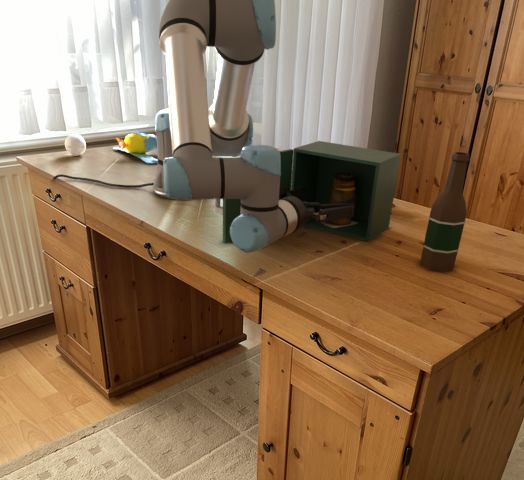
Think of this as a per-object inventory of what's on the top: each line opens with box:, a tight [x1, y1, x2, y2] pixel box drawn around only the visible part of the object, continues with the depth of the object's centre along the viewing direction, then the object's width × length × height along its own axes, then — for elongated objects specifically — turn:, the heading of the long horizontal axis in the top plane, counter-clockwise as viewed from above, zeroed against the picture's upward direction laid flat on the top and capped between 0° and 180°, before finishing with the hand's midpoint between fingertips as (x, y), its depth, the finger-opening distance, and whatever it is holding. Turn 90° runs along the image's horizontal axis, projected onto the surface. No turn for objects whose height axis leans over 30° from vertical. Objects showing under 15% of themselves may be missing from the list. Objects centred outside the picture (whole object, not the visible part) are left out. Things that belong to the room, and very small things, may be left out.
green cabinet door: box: [213, 148, 294, 244], centre depth 131 cm, size 6×23×18 cm, turn 137°
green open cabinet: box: [291, 140, 402, 242], centre depth 137 cm, size 13×23×19 cm, turn 57°
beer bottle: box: [419, 151, 470, 273], centre depth 114 cm, size 8×8×24 cm
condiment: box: [316, 173, 358, 228], centre depth 138 cm, size 7×8×12 cm
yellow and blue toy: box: [112, 131, 158, 165], centre depth 199 cm, size 28×9×15 cm
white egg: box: [64, 133, 87, 157], centre depth 194 cm, size 10×7×7 cm
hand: (329, 195), depth 131 cm, fingers open, 13 cm apart
